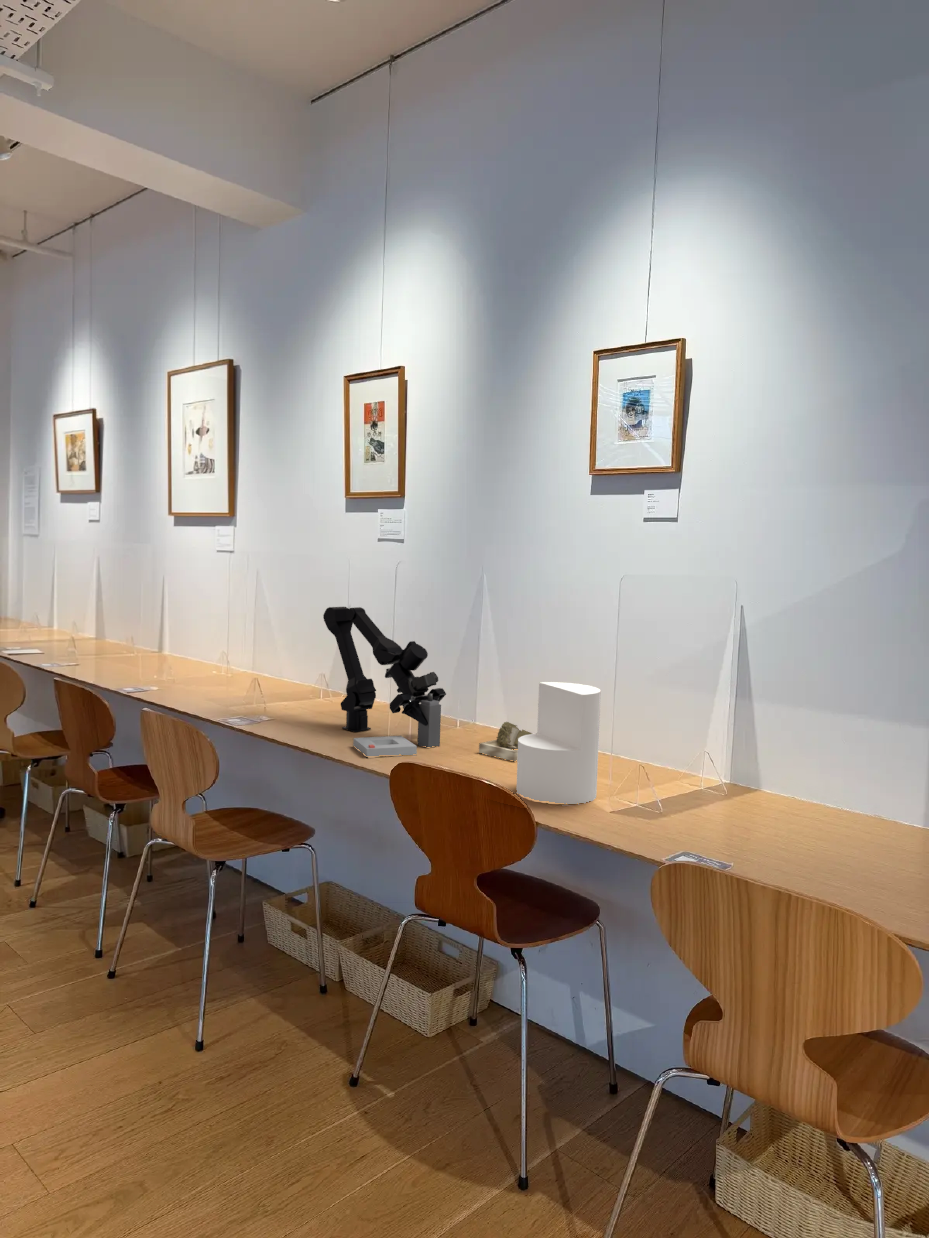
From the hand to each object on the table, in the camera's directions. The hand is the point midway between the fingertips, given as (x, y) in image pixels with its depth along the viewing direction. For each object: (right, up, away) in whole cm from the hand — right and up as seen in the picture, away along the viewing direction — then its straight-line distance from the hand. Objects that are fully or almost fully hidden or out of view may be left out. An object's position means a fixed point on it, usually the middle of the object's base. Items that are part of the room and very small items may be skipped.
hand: (432, 723), depth 258 cm
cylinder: (+30, -11, -45) cm, 55 cm away
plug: (-1, -6, +1) cm, 7 cm away
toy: (+25, -7, -3) cm, 26 cm away
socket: (-13, -7, -7) cm, 16 cm away
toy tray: (+25, -8, -3) cm, 26 cm away
